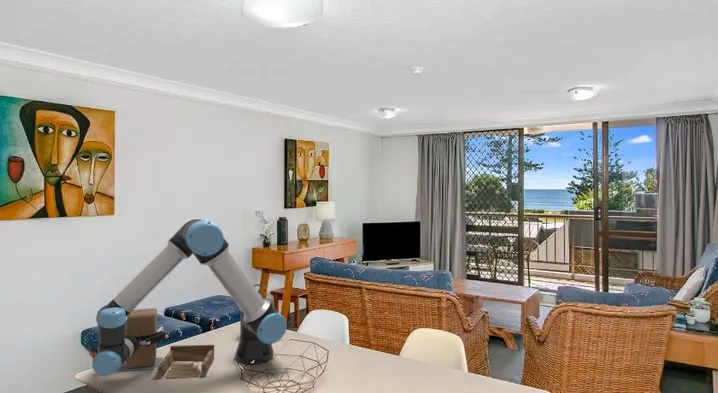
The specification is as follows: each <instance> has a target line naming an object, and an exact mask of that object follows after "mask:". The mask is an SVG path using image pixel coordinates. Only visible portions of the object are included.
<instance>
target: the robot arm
mask: <svg viewBox="0 0 718 393" xmlns="http://www.w3.org/2000/svg"><path fill="white" fill-rule="evenodd" d="M229 248H230V244H229V243H228V241H227V240H226V238H225V237H224V232H223V230H222V229H221V227H220V226H219V225H218V224H216V223H214V222H213V221H211V220H207V219H206V220H203V219H198V218H196V219H191V220H189V221H187V222H185V223H184V224H183V225H182V226H181V227H180V228H179V229H178V230H177V231H176V232H175V233H174V234H173V236H172V237H171V238H170V239H169V240H167V245H166V246H165V247H164V248H163V250H162V251H160V252H159V253H158V254H157V255H156V256H155V257H154V258H153V259H152V260H151V261H150V262H149V263H148V264H147V265H146V266H145V267H144V268H143V269H142V270H141V271H140V272H139V273H138V274H137V275H136V276H135V277H133V279H132V280H131V281H130V282H129V283H127V285H126V286H125V287H124V288H122V290H121V291H120V292H119V293H117V295H116V296H115V297H114V298H112V300H111V301H110V302H108V304H105V305H104V306H101V307H100V309H98V311H97V313H96V317H95V318H96V320H95V321H96V323H97V328H98V331H97V332H98V344H97V354H96V355H95V357H94V358H93V360H92V369H93V371H94V372H95V373H96V374H97V375H100V376H109V375H110V376H111V375H112V374H113V373H115V372H116V371H118V370H120V369H121V367H122V366H123V364H125V363H126V360H127V359H129V358H130V357H131V356H132V355H133V354H134V353H135V352H136V350H137V349H138V347H139V346H142V345H145V347H149V346H150V345H152V344H155V343H156V344H157V343H159V342H162V341H165V340H166V337H167V336H166V332H165V331H164V326H161V327H159V328H157V331H156V333H153V334H149V335H146V336H143V335H140V336H137V337H136V336H134V337H133V336H132V335H127V326H126V322H127V316H128V315H129V314H130V313H131V312H132V310H135V308H137V306H138V305H139V304H141V303H142V301H144V300H145V299H146V298H147V297H148V295H149V294H151V293H152V291H154V289H155V288H157V286H159V284H160V283H162V281H164V279H165V278H166V277H168V276H169V275H170V273H172V272H173V270H175V268H177V266H178V265H179V264H180V263H181V262H182V261H183V260H187V259H189V258H190V257H191V256H192V255H193V256H194V257H195V259H196V260H197V261H198V262H199V264H200V265H203V266H207V267H208V268H209V269H210V271H211V272H212V273H213V274H214V276H215V277H216V279H217V281H219V282H220V284H221V285H222V287H223V289H225V291H226V292H227V294H229V296H230V297H231V299H232V300H233V301H234V302H235V304H236V305H237V306H238V308H239V312H240V324H239V327H240V329H239V331H240V332H239V333H240V335H239V336H240V337H239V342H238V345H237V347H236V350H235V354H234V357H235V358H234V360H235V361H236V362H238V363H241V364H244V365H245V364H246V365H249V364H248V363H250V362H252V361H253V360H255V361H254V364H253V365H255V364H262V363H267V362H269V361H271V360H272V359H273V358H274V348H273V345H274V344H275V343H277V342H280V340H281V339H282V338H283V337H284V336H285V334H286V332H287V327H288V326H287V325H288V324H287V320H286V317H284V315H282V313H280V312H278V310H277V309H276V308H275V305H274V306H273V305H272V304H271V302H270V301H269V300H263V298H262V297H261V296H260V294H261V293H260V294H259V293H258V291H257V289H256V286H253V285H254V284H253V283H252V281H251V280H250V279H249V278H248V276H247V275H246V274H245V272H244V271H243V270H242V268H241V267H240V265H239V264H238V263H237V261H236V260H235V259H234V257H233V256H232V254H231V253H230V252H229ZM139 338H141V339H139Z"/></svg>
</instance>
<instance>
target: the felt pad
mask: <svg viewBox="0 0 718 393" xmlns="http://www.w3.org/2000/svg"><path fill="white" fill-rule="evenodd" d="M163 359H164V357H156V362H155V365H153V366H147V367H138V368H126V363H124V365H122V366H121V367H120V368H119V369H118V370H119V372H133V371H134V372H136V371H137V372H139V371H140V372H141V371H154V370H156V369H157V368H158V365H159V364H160V363H161V361H162V360H163Z"/></svg>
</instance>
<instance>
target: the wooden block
mask: <svg viewBox="0 0 718 393" xmlns="http://www.w3.org/2000/svg"><path fill="white" fill-rule="evenodd" d="M157 330H158V310H157V308H139V309H133V310H132V312H131V313H130V314H129V315H128V316H127V317H126V335H132V336H133V337H134V336H136V337H137V336H140V335H143V336H146V335H149V334H153V333H156V331H157ZM139 339H141V338H139ZM156 358H157V343H155V344H152V345H150V346H149V347H145V345H142V346H139V347H138V349H137V350H136V352H135V353H134V354H133V355H132V356H131V357H130V358H129V359H127V360H126V361H125V364H126V368H138V367H147V366H153V365H155V362H156Z"/></svg>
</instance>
